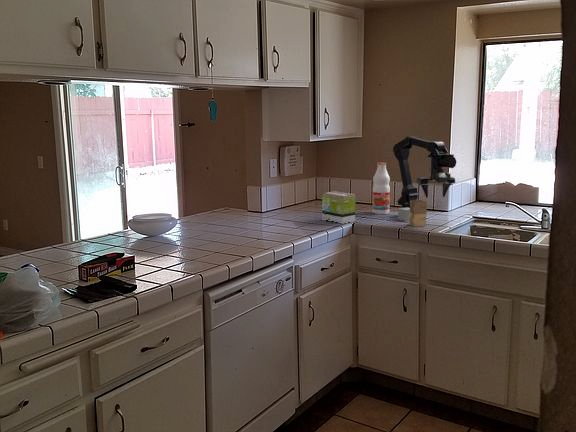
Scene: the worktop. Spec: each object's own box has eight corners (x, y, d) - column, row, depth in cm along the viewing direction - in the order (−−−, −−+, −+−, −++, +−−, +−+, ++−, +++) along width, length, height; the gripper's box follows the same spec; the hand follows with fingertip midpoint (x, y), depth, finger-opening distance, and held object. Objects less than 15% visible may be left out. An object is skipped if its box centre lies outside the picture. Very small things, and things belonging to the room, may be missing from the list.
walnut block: (409, 212, 291) (410, 200, 290) (421, 211, 292) (421, 200, 291) (414, 214, 285) (415, 202, 284) (426, 213, 286) (426, 201, 285)
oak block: (409, 224, 292) (409, 212, 291) (420, 223, 293) (421, 211, 292) (414, 226, 286) (414, 214, 285) (425, 225, 287) (426, 213, 286)
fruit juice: (388, 211, 329) (389, 162, 324) (390, 214, 319) (391, 163, 314) (371, 211, 329) (372, 162, 324) (373, 214, 320) (374, 163, 315)
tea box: (321, 220, 304) (321, 192, 301) (334, 218, 310) (334, 190, 308) (342, 224, 293) (342, 195, 290) (355, 221, 299) (356, 193, 297)
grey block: (398, 219, 304) (398, 208, 303) (407, 218, 307) (407, 207, 306) (405, 221, 299) (405, 210, 298) (414, 220, 302) (414, 209, 301)
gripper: (425, 168, 284) (424, 200, 287) (461, 167, 288) (459, 198, 290) (416, 166, 295) (415, 197, 298) (450, 165, 298) (449, 195, 301)
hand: (435, 197), depth 297 cm, fingers open, 9 cm apart
